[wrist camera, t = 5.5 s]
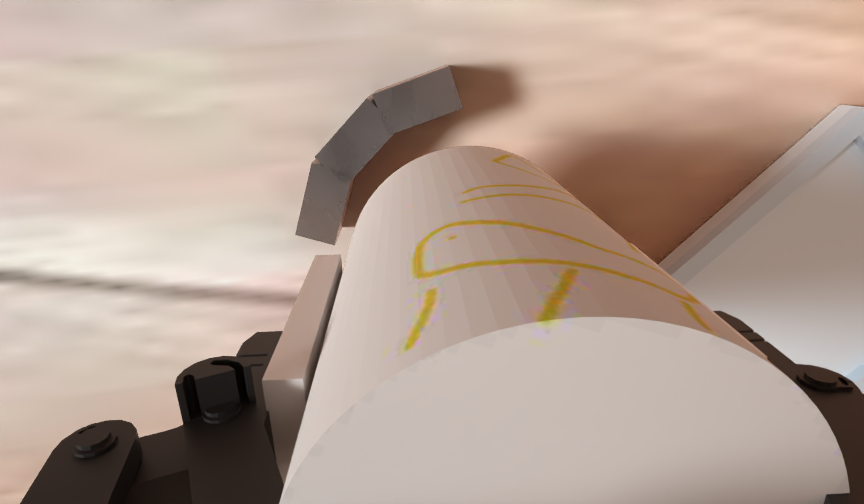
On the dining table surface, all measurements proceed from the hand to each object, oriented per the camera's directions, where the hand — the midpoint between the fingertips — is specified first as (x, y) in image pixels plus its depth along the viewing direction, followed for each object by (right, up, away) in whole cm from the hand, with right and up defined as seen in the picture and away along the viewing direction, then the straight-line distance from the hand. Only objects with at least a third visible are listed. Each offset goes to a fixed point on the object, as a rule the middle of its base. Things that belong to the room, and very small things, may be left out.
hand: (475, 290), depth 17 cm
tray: (+16, 0, +9) cm, 19 cm away
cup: (0, +1, +2) cm, 3 cm away
